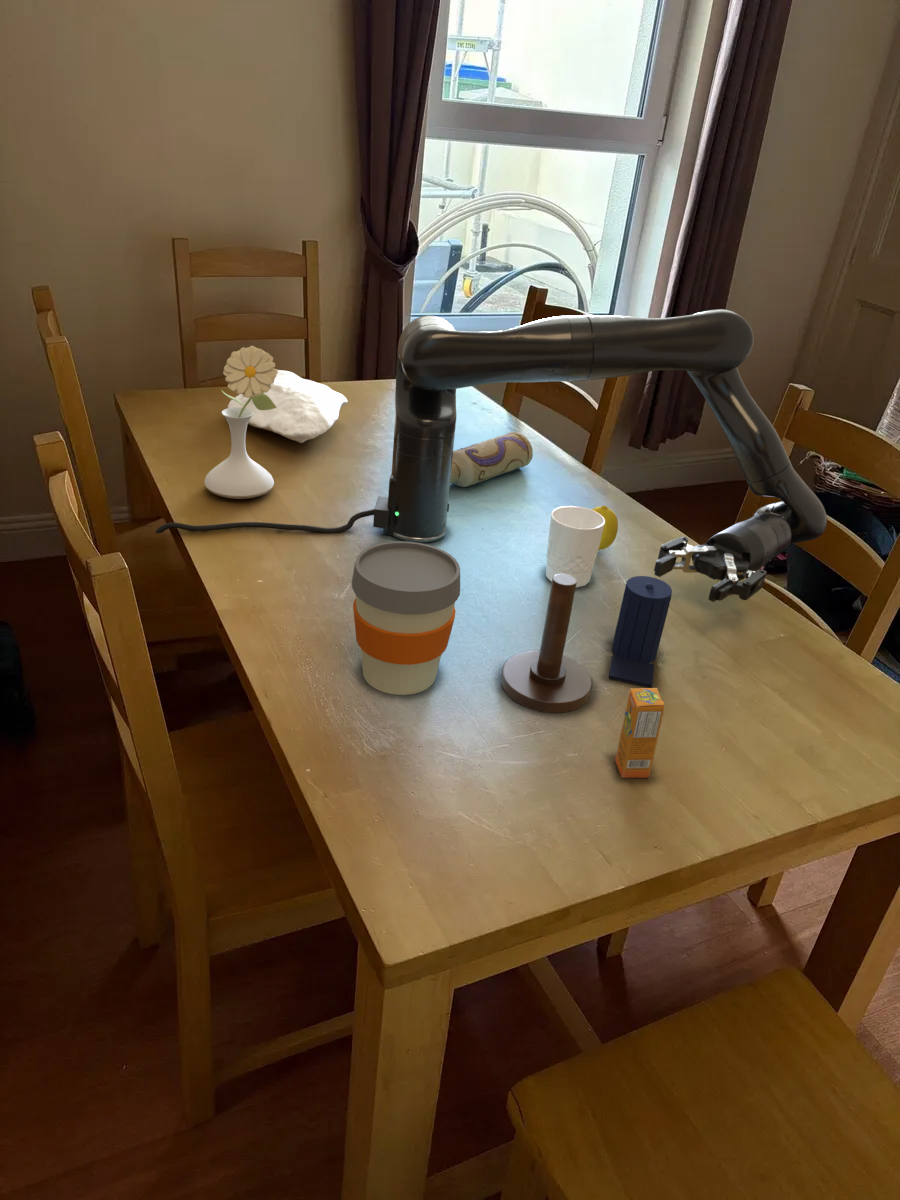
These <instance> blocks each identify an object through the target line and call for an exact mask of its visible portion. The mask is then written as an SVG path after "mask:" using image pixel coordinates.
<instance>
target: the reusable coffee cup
mask: <svg viewBox="0 0 900 1200" xmlns="http://www.w3.org/2000/svg"><path fill="white" fill-rule="evenodd" d="M351 589H352V591H353V593H354V595H355V599H354V601H353V603H352V609H353V621H354V629H355V630H354V631H355V632H354V633H355V640H356V641H355V642H356V643H357V645H358V647H359V648H360V655H361V666H362V667H361V668H362V676H363V678H364V680H365V681H366V683H367V684H368V685H370V686H371V688H374V689H375V690H377V691H380V692H382V693H384V694H385V693H386V694H390V695H396V696H408V695H414V694H417V693H421V692H424V691H426V690H428V689H429V688H430V687H431V686H432V685H433V684H434V683H435V680H436V678H437V673H438V670H439V666H440V662H441V659H442V655H443V653H444V652H445V651H446V650H447V647H448V644H449V641H450V639H451V638H450V637H451V634H452V630H453V626H454V623H455V618H456V611H457V610H456V607H455V604H456V602H457V601H458V599H459V597H460V595H461V566H460V563H459V562H458V561H457V559H456V558H455V557H454V556H453V555H452V554H450V553H448V552H447V551H445V550H443V549H441V548H439V547H436V546H433V545H430V544H427V543H418V542H409V541H404V540H401V541H400V540H397V541H388V542H381V543H378V544H374V545H371V546H369V547H367V548H365V549H363V550H362V551H360V552H359V554H357V556H356V558H355V561H354V568H353V573H352V578H351Z"/></svg>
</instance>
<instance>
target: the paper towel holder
mask: <svg viewBox="0 0 900 1200" xmlns="http://www.w3.org/2000/svg"><path fill="white" fill-rule="evenodd" d="M576 584H577V580H576V579H575V578H574V577H573V576H571V575H568V574H556V575H554V576H553V578H552V582H551V585H550V590H549V596H548V602H547V608H546V613H545V619H544V625H543V631H542V637H541V643H540V648H539V650H527V651H523V652H520V653H517V654H514V655H512V656H511V657H509V658H508V659H507V660H506V661H505V663H504V664H503V667H502V672H501V679H500V681H501V686H502V689H503V691H504V692H505V693H506V695H507V696H508V697H509V698H510V699H511V700H513V701H514V702H515V703H517V704H519V705H521V706H522V707H525V708H527V709H530V710H534V711H536V712H537V711H538V712H542V713H549V714H550V713H551V714H561V713H567V712H572V711H575V710H577V709H580V708H581V707H583V706H584V705H585V704H586V703H587V702H588V701H589V698H590V697H591V691H592V686H593V680H592V677H591V674H590V673H589V671H588V669H586V667H584V666H583V665H582V664H581V663H579V662H578V661H576V660H574V659H573V658H571V657H569V656H566V655H564V651H565V646H566V643H567V642H566V641H567V636H568V631H569V625H570V620H571V615H572V609H573V604H574V599H575V595H576V594H575V593H576V589H577V587H576Z"/></svg>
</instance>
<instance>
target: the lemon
mask: <svg viewBox="0 0 900 1200" xmlns="http://www.w3.org/2000/svg"><path fill="white" fill-rule="evenodd" d="M591 510H593V511H595V512H597V513H599V514H600V515H602V516H603V517H604V519H605V525H604V529H603V533H602V537H601V541H600V545H599V549H598V552H599V551H602V550H605V549H607V548H609V547H610V546H611V545H613V544H614V542H615V540H616V538H617V535H618V530H619V521H618V517H617V515H616V513H615V512H614V511H613V510H612V509H611V508H609V507H607V505H601V506H596V507H593V508H592V509H591Z"/></svg>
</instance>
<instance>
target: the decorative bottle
mask: <svg viewBox="0 0 900 1200" xmlns="http://www.w3.org/2000/svg"><path fill="white" fill-rule="evenodd" d="M533 450H534V449H533V447H532V443H531V442H530V440H529V439H528V438H527V437H526V436H525V435H524V434H522V433H520V432H516V431H511V432H507V433H505V434H503V435H499V436H496V437H493V438H489V439H487V440H482V441H481V442H477V443H474V444H470V445H468V446H465V447H460V448H459V449H455V450H453V457H452V467H451V477H450V484H454V485H456V486H458V487H460V488H466V487H471V486H474V485H476V484H478V483H483V482H484V481H487V480H489V479H492V478H495V477H498V476H500V475H503V474H506V473H509V472H513V471H514V470H516V469H521V468H524V467H526V466H529V464H530V463H531V461H532V460H533V456H534V454H533V453H534V452H533Z"/></svg>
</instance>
